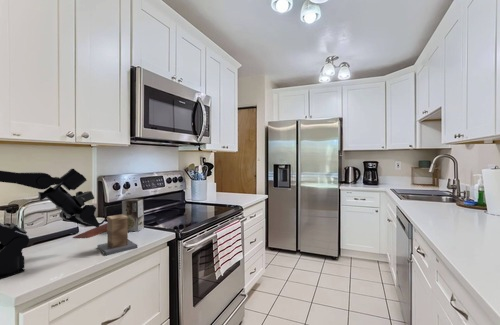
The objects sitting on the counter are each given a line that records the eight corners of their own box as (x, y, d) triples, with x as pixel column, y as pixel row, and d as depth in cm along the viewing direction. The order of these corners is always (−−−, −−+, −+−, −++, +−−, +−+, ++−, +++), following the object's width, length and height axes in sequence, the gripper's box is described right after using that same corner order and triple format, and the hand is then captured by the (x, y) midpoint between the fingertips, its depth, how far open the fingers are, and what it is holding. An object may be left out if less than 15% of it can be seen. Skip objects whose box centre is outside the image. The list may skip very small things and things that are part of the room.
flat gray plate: (106, 255, 98) (106, 247, 98) (97, 247, 107) (97, 240, 107) (137, 247, 107) (137, 240, 107) (126, 241, 115) (126, 234, 115)
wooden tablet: (107, 224, 146) (107, 221, 146) (123, 225, 145) (123, 222, 145) (68, 239, 120) (68, 235, 120) (87, 240, 119) (87, 236, 119)
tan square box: (112, 248, 103) (111, 219, 102) (107, 245, 107) (107, 216, 107) (127, 244, 107) (127, 216, 107) (122, 241, 111) (122, 214, 111)
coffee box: (144, 228, 137) (144, 198, 137) (138, 231, 131) (137, 200, 131) (128, 227, 138) (128, 198, 138) (121, 230, 132) (121, 200, 132)
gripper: (91, 183, 94) (119, 210, 102) (70, 185, 104) (97, 210, 112) (66, 205, 87) (98, 233, 95) (45, 205, 97) (76, 230, 105)
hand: (92, 225), depth 102 cm, fingers open, 9 cm apart
